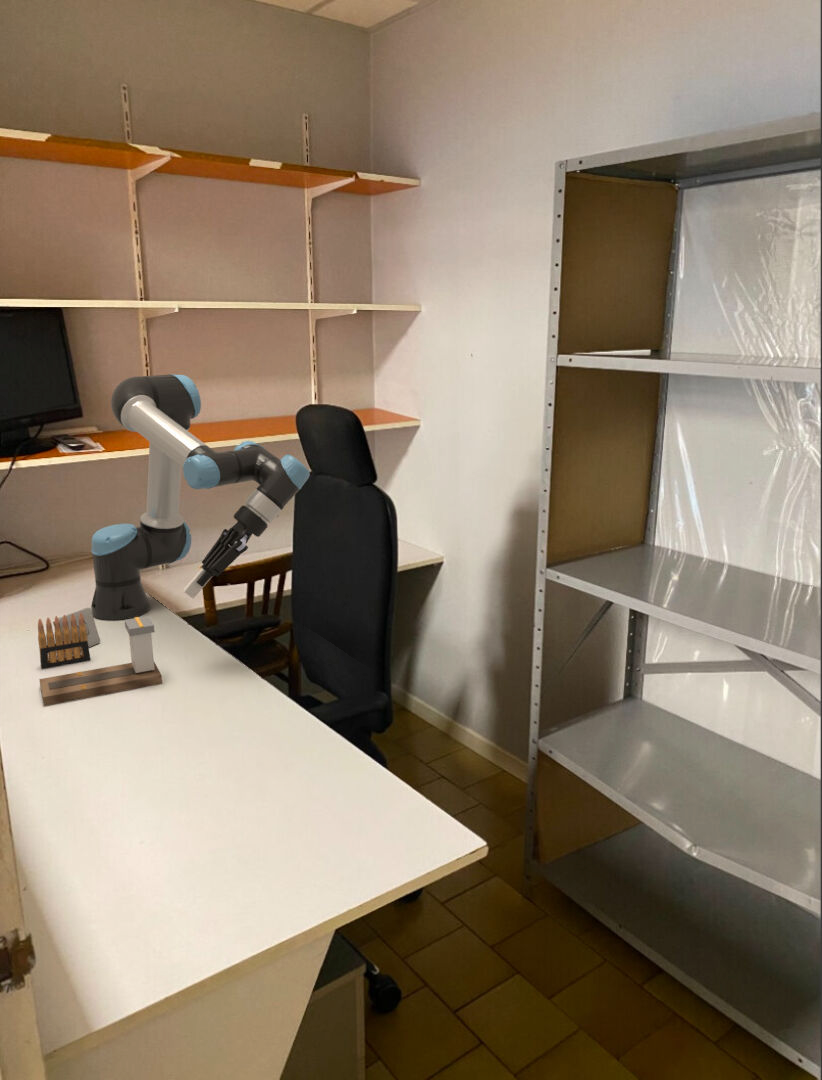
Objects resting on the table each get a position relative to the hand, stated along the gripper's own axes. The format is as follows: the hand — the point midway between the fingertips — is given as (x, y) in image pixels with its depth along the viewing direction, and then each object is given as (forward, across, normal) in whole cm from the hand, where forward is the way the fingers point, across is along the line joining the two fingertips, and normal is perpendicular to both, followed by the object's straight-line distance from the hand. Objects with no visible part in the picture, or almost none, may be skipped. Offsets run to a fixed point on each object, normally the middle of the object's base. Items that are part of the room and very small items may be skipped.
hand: (188, 594), depth 185 cm
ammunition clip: (+31, +17, +5) cm, 36 cm away
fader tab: (+19, 0, -3) cm, 19 cm away
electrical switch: (+29, +26, +3) cm, 38 cm away
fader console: (+27, 0, +2) cm, 27 cm away
